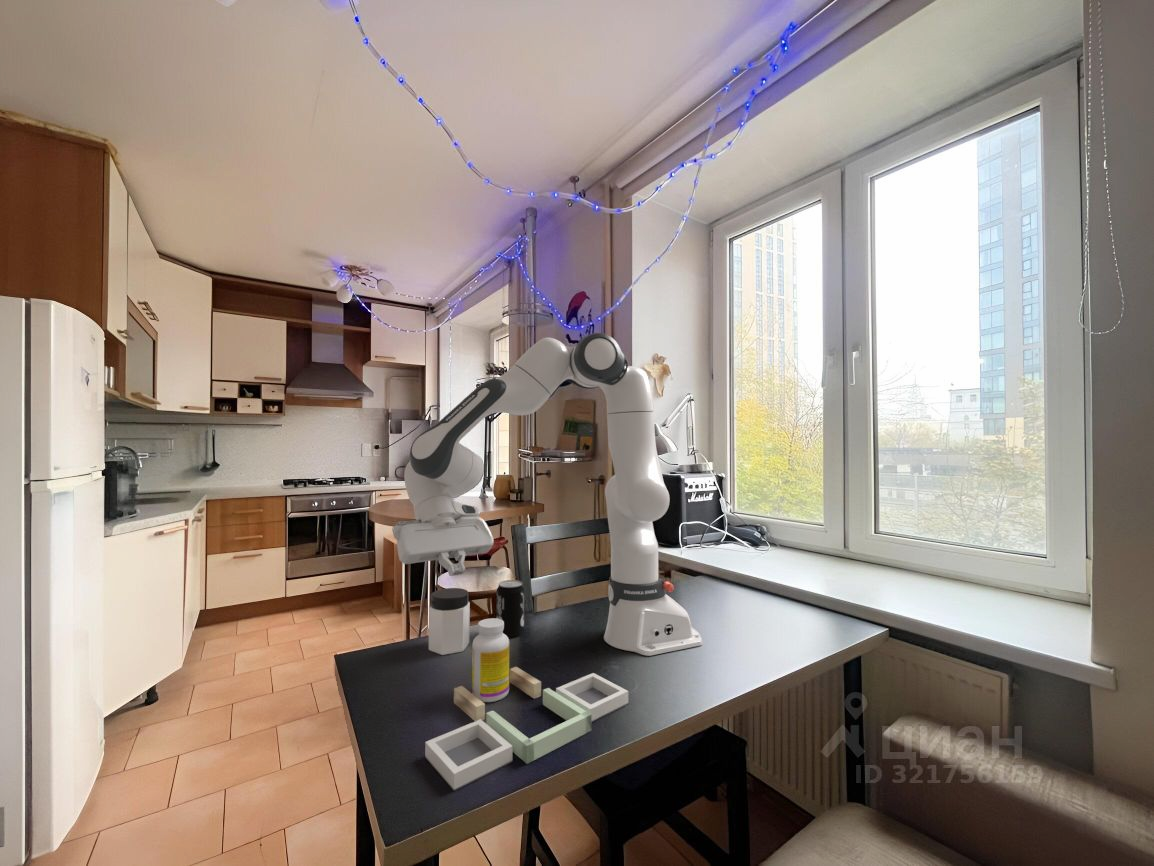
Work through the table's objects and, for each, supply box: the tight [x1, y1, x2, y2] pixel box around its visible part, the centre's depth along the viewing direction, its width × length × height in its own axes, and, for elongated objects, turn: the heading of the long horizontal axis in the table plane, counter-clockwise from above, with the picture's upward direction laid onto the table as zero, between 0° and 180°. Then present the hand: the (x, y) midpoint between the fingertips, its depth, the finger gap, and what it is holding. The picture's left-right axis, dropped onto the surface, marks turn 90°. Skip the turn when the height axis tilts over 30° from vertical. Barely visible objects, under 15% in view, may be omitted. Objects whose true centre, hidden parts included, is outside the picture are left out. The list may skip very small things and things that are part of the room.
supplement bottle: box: [471, 617, 510, 703], centre depth 88 cm, size 7×7×13 cm
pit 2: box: [555, 672, 629, 723], centre depth 85 cm, size 9×9×2 cm
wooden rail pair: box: [453, 666, 542, 722], centre depth 86 cm, size 8×13×2 cm, turn 131°
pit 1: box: [424, 719, 514, 792], centre depth 69 cm, size 9×9×2 cm
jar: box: [428, 587, 471, 656], centre depth 108 cm, size 9×8×12 cm
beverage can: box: [495, 579, 525, 639], centre depth 116 cm, size 7×7×12 cm
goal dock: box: [485, 687, 593, 765], centre depth 77 cm, size 11×12×2 cm
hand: (457, 573), depth 98 cm, fingers closed
